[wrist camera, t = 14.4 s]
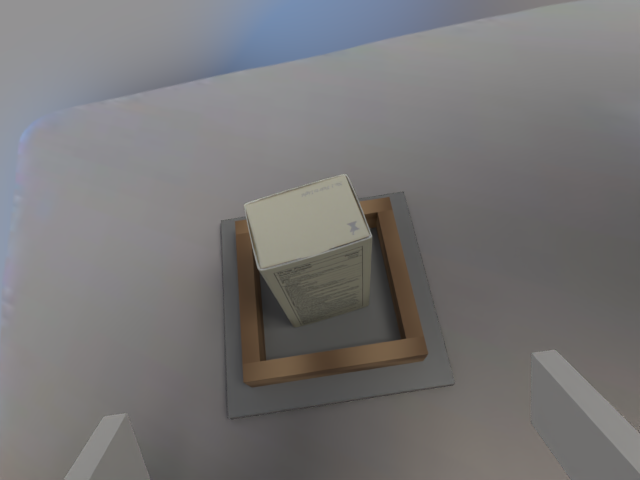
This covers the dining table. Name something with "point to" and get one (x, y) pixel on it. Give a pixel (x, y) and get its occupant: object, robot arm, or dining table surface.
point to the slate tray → (334, 334)
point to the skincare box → (313, 249)
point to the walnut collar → (339, 360)
